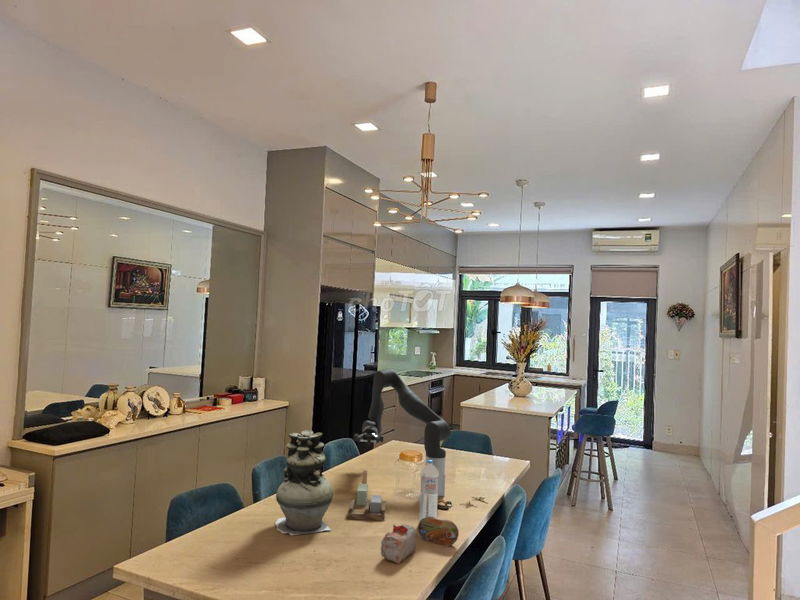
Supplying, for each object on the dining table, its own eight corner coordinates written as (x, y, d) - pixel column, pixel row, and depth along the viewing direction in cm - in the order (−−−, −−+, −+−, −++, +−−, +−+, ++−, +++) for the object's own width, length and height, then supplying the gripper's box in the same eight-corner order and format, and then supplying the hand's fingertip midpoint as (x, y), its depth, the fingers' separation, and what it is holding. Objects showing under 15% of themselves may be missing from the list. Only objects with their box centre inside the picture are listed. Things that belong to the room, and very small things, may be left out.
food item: (400, 566, 169) (401, 535, 170) (378, 560, 173) (379, 529, 174) (418, 551, 182) (419, 522, 182) (397, 546, 185) (398, 517, 186)
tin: (417, 539, 192) (418, 515, 193) (420, 536, 195) (421, 513, 195) (455, 549, 185) (456, 524, 185) (459, 546, 188) (460, 521, 188)
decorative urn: (282, 542, 185) (287, 441, 186) (268, 519, 204) (272, 428, 205) (339, 532, 195) (344, 437, 196) (320, 511, 214) (325, 424, 214)
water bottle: (438, 524, 207) (441, 459, 208) (433, 530, 201) (436, 463, 202) (421, 521, 209) (424, 457, 211) (416, 527, 203) (419, 461, 204)
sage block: (368, 493, 241) (369, 470, 242) (365, 505, 225) (367, 481, 225) (359, 492, 241) (360, 470, 242) (356, 504, 225) (357, 481, 225)
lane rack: (385, 509, 221) (385, 501, 221) (384, 520, 209) (384, 511, 209) (351, 507, 221) (352, 499, 221) (348, 518, 209) (349, 509, 209)
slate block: (380, 510, 221) (381, 495, 221) (380, 517, 212) (380, 502, 212) (371, 509, 221) (371, 494, 221) (370, 517, 212) (370, 502, 212)
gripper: (356, 426, 269) (353, 432, 252) (384, 427, 268) (383, 433, 252) (355, 441, 268) (352, 448, 252) (383, 442, 268) (382, 449, 252)
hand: (368, 440), depth 252 cm, fingers open, 8 cm apart
